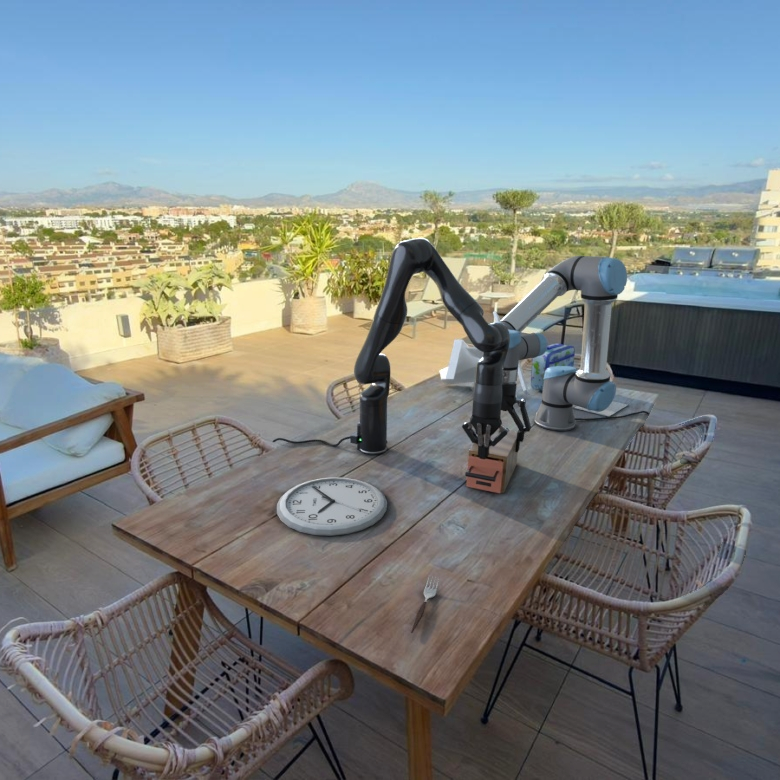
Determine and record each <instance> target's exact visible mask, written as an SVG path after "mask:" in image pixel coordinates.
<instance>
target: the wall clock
mask: <svg viewBox="0 0 780 780" xmlns="http://www.w3.org/2000/svg"><path fill="white" fill-rule="evenodd" d="M387 509H388V500H387V498H386V496H385V494H384V493H383V492H382V491H381V490H380V489H379V488H377V487H376V486H374V485H372V484H371V483H369V482H365V481H362V480H359V479H355V478H349V477H338V476H337V477H335V476H333V477H332V476H331V477H322V478H317V479H312V480H307V481H305V482H302V483H299V484H297V485H295V486H293V487H292V488H290V489H288V490H287V491H286V492H285V493H284V494H283V495H281V496H280V498H279V499H278V502H277V503H276V515H277V517H278V518H279V520H280V521H281V522H282V523H283V524H285V525H286V526H287V527H288V528H290V529H293V530H295V531H297V532H299V533H303V534H308V535H312V536H327V537H328V536H329V537H331V536H332V537H333V536H342V535H350V534H352V533H356V532H361V531H363V530H366V529H368V528H369V527H372V526H373V525H375V524H376V523H378V522H379V521H380V520H381V519H382V518H383V517H384V516H385V514H386V512H387Z"/></svg>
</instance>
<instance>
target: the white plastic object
mask: <svg viewBox="0 0 780 780" xmlns="http://www.w3.org/2000/svg"><path fill="white" fill-rule="evenodd" d="M492 315H493V319H494V321H495V323H496V322H500V321H501V318H500V315H499V314H498V312H497V311H496V310H495V311H492ZM483 353H484V352H482V351H480V350H478V349H477V348H476V347H475V346H474V345H473V346H469V345H468V343H466V342H465V340H464V339H463V338H460V339H458V338H454V340H453V344H452V349H451V353H450V357H449V362H448V366H446V367H444V368H442V369H440V370H439V371H438V372H439V376H440V381H442V383H443V384H444V385H445V386H449V385H458V384H467V383H468V384H469V383H473V384H475V377H476V366H477V363H478V361H479V360H480V359H481V358H482V357H483ZM522 368H523V367H522V366H521V362H520V361H519V363H518V375H517V377H518V380H519V382H520V385H521V389H522V391H523V393H524V395H525V396H526V397H528V396H531V395H530V390H529V388H528V387H529V386H528V384H527V381H526V378H525V375H524V371H523V369H522ZM516 399H518V398H517V394H516Z"/></svg>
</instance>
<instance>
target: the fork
mask: <svg viewBox="0 0 780 780" xmlns="http://www.w3.org/2000/svg"><path fill="white" fill-rule="evenodd" d="M430 576H431V574H429V575H428V578H427V581H426V585H425V587H424V589H423V595H424V598H425V600H424V601H423V603H422V604H421V605H420V607H419V608H418V610H417V613H416V615H415V619H414V622H413V626H412V629H411V630H410V631H411V632H410V634H413V633H414V632H415V629H416V627H418V624H419V622H420V621H421V619H422V618H423V616H424V613H425V609H426V605H427V603H428V600H429V599H432V598H434V597H435V596H436V595H437V592H438V588H439V584H440V583H439V582H440V576H439V577H438V579H437V577H435V578H434V575H432V577H431V579H430ZM433 578H434V579H433ZM433 580H434V581H433ZM436 580H437V582H436ZM429 582H430V583H429ZM432 583H433V584H432ZM435 585H436V586H435Z"/></svg>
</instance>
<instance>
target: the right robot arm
mask: <svg viewBox="0 0 780 780" xmlns="http://www.w3.org/2000/svg"><path fill="white" fill-rule="evenodd" d="M627 283H628V271H627V268H626V265H625V264H624V262H623V261H622V260H621V259H619V258H615V257H610V256H588V255H575V256H571V257H568V258H567V259H564V260H562V261H561V262H559V263H557V264H556V265H554V266H553V267H551V268H550V270H548V271H547V272H546V273H545V274H544V275H542V281H541V282H540V283H539V284H537V285H536V286H535V287H534V288H533V289H532V290H531V291H530V292H529V293H528V294H527V295H526V296H525V297H523V299H522V300H521V301H519V302H518V303H517V304H516V305H515V307H513V308H512V309H511V310H510V311H509V312H508V313H507V314H506V315H505V316H504V317H503V318H502V319H500V322H499V323H502V324H504V325H505V326H506V327H507V328H508V330H509V334H510V344H509V349H508V353H507V356H506V360H505V363H504V366H503V379H502V404H501V412H508V414H509V415H510V416H511V419H512V420H513V422H514V424H515V426H516V427H517V431H518V432H517V441H516V451H515V452H518V453H519V451H520V447H521V443H523V442H524V439H525V433H526V432H528V433H529V432H530V431H531V429H532V425H531V421H530V418H529V414H528V411H527V407H526V402H527V400H526V399H525V398H522V399H519V398H516V395H517V385H518V384H517V381H518V363H519V362H520V361H523V360H528V359H529V360H530V359H533V358H536V357H538V356H541V355H543V354H544V353H545V352H546V350H547V347H548V346H549V345H548V339H547V337H546V336H545V335H544V334H542V333H541V332H530V333H526V332H523V331H524V330H525V329H526V328H527V327H528V326H529V325H530V324H532V322H533V321H534V320H535V319H536V318H537V317H538V316H540V314H542V313H543V312H544V311H545V309H547V308H548V307H549V306H550V304H552V302H554V300H556V299H557V298H558V297H562V296H564V295H565V294H566V293H567V292H569V291H580V299H581V300H582V301H583V302H584V312H583V314H584V315H583V326H582V328H583V329H582V338H581V339H582V341H581V355H580V367H579V369H578V368H577V367H576V366H573V367H571V366H555V367H549V368H547V369H546V371H545V375H544V378H543V379H544V381H543V390H542V394H541V402H540V405H539V407H538V410H537V411H536V413H535V417H534V424H535V425H536V426H537V427H539V428H542V429H544V430H549V431H556V432H567V431H572V430H574V429H575V428H576V421H599V420H611V419H612V420H613V419H623V418H626V417H630V416H633V415H638V414H644V413H645V414H647V415H650V413H649V412H648V411H646V410H640V411H636V412H630V413H627V414H624V415H619V416H616V415H615V416H609V417H608V416H604V417H593V418H592V417H591V418H582V417H581V418H580V417H579V418H578V417H576V416H575V413H574V407H573V406H575V407H576V406H579V407H582V408H585V409H588V410H592V411H596V412H601V411H604V410H605V409H606V408H608V406H609V405H610V404H611V402H612V401H614V398H615V396H616V392H617V386H616V384H615V383H614V382H613V381H611V380H610V379H611V373H610V372H609V371H608V370H607V365H608V364H607V363H608V351H609V343H610V341H609V340H610V331H611V320H612V309H613V303H614V302H615V301H617V300H618V298H619V297H618V296H619V295H620V294H622V293H623V292H624V290H625V287H626V286H627ZM515 404H517V406H518V407H519V410H520V414H521V417H522V420H521V418H520V416H519V415H518V413H517V411H516V408H515ZM575 417H576V418H575ZM522 421H523V422H522ZM475 434H476V435H477V432H476V431H475Z"/></svg>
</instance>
